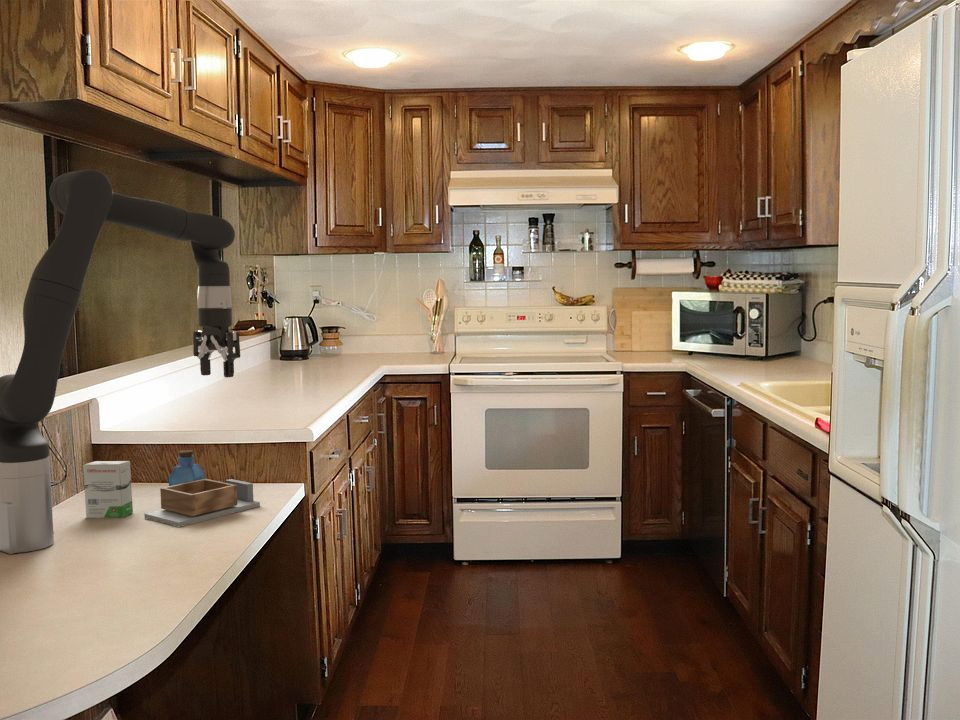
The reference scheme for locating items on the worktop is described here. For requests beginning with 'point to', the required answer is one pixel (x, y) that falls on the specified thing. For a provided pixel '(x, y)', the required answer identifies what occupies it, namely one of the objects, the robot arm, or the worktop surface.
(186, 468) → the perfume bottle
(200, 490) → the box
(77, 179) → the robot arm
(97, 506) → the ink box
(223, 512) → the backstop board
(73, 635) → the worktop surface
